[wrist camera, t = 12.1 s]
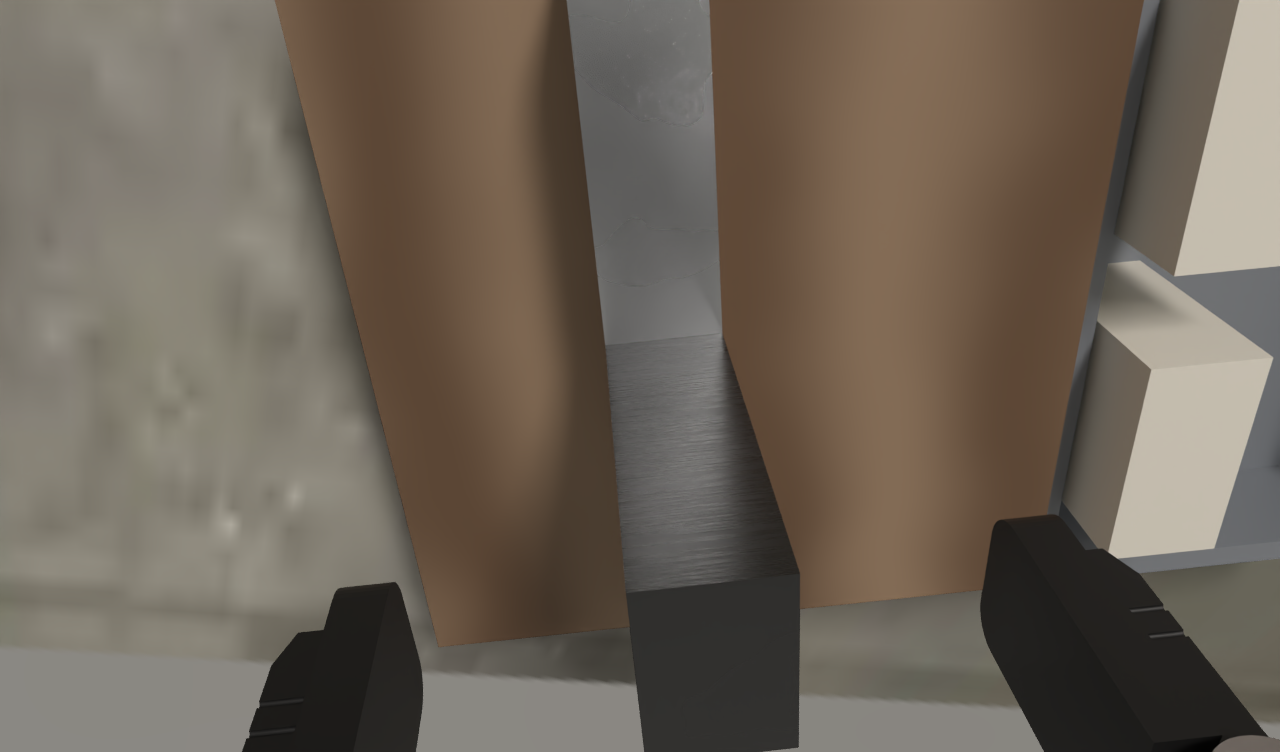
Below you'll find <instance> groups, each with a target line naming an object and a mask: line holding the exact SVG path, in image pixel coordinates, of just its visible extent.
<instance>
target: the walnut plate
mask: <svg viewBox="0 0 1280 752" xmlns="http://www.w3.org/2000/svg"><path fill="white" fill-rule="evenodd" d="M275 2H276V6H277V10H278V14H279V18H280V22H281V26H282V30H283V34H284V38H285V42H286V46H287V50H288V54H289V58H290V62H291V66H292V70H293V74H294V78H295V82H296V85H297V89H298V93H299V97H300V101H301V105H302V109H303V113H304V117H305V121H306V125H307V129H308V133H309V137H310V141H311V145H312V149H313V153H314V157H315V161H316V165H317V168H318V172H319V176H320V180H321V184H322V188H323V192H324V196H325V200H326V204H327V208H328V212H329V216H330V220H331V224H332V228H333V232H334V236H335V240H336V244H337V248H338V251H339V255H340V259H341V263H342V267H343V271H344V275H345V279H346V283H347V287H348V291H349V295H350V299H351V303H352V307H353V311H354V315H355V319H356V323H357V327H358V331H359V334H360V338H361V342H362V346H363V350H364V354H365V358H366V362H367V366H368V370H369V374H370V378H371V382H372V386H373V390H374V394H375V398H376V402H377V406H378V410H379V413H380V417H381V421H382V425H383V429H384V433H385V437H386V441H387V445H388V449H389V453H390V457H391V461H392V465H393V469H394V473H395V477H396V481H397V485H398V489H399V493H400V496H401V500H402V504H403V508H404V512H405V516H406V520H407V524H408V528H409V532H410V536H411V540H412V544H413V548H414V552H415V556H416V560H417V564H418V568H419V572H420V576H421V579H422V583H423V587H424V591H425V595H426V599H427V603H428V607H429V611H430V615H431V619H432V623H433V627H434V631H435V635H436V639H437V643H438V647H444V646H454V645H463V644H473V643H482V642H492V641H501V640H511V639H520V638H530V637H539V636H549V635H558V634H568V633H577V632H587V631H596V630H606V629H615V628H625V627H630V625H629V616H628V608H627V599H626V590H625V577H624V565H623V553H622V541H621V529H620V517H619V505H618V493H617V481H616V469H615V457H614V445H613V433H612V421H611V409H610V396H609V384H608V372H607V360H606V348H605V339H604V330H603V321H602V312H601V303H600V294H599V285H598V276H597V267H596V258H595V249H594V240H593V231H592V222H591V213H590V205H589V196H588V187H587V178H586V169H585V160H584V151H583V142H582V133H581V124H580V115H579V106H578V97H577V88H576V80H575V71H574V62H573V53H572V44H571V35H570V26H569V17H568V8H567V0H275ZM1143 3H1144V0H709V7H710V33H711V58H712V83H713V109H714V134H715V160H716V185H717V210H718V236H719V261H720V286H721V312H722V334H723V337H724V340H725V343H726V346H727V349H728V352H729V355H730V358H731V361H732V364H733V368H734V371H735V374H736V377H737V380H738V383H739V386H740V389H741V392H742V395H743V398H744V402H745V405H746V408H747V411H748V414H749V417H750V420H751V423H752V426H753V429H754V432H755V436H756V439H757V442H758V445H759V448H760V451H761V454H762V457H763V460H764V463H765V466H766V470H767V473H768V476H769V479H770V482H771V485H772V488H773V491H774V494H775V497H776V500H777V504H778V507H779V510H780V513H781V516H782V519H783V522H784V525H785V528H786V531H787V534H788V538H789V541H790V544H791V547H792V550H793V553H794V556H795V559H796V562H797V565H798V568H799V572H800V609H805V608H814V607H824V606H833V605H843V604H852V603H862V602H871V601H881V600H890V599H900V598H909V597H919V596H928V595H938V594H947V593H957V592H966V591H976V590H983V584H984V578H985V572H986V566H987V559H988V553H989V547H990V541H991V534H992V530H993V527H994V524H995V523H996V522H997V521H998V520H1002V519H1011V518H1021V517H1030V516H1039V515H1047V511H1048V506H1049V500H1050V495H1051V490H1052V485H1053V479H1054V474H1055V469H1056V463H1057V458H1058V453H1059V447H1060V442H1061V437H1062V432H1063V426H1064V421H1065V416H1066V410H1067V405H1068V400H1069V395H1070V389H1071V384H1072V379H1073V373H1074V368H1075V363H1076V357H1077V352H1078V347H1079V342H1080V336H1081V331H1082V326H1083V320H1084V315H1085V310H1086V305H1087V299H1088V294H1089V289H1090V283H1091V278H1092V273H1093V267H1094V262H1095V257H1096V252H1097V246H1098V241H1099V236H1100V230H1101V225H1102V220H1103V214H1104V209H1105V204H1106V199H1107V193H1108V188H1109V183H1110V177H1111V172H1112V167H1113V162H1114V156H1115V151H1116V146H1117V140H1118V135H1119V130H1120V124H1121V119H1122V114H1123V109H1124V103H1125V98H1126V93H1127V87H1128V82H1129V77H1130V72H1131V66H1132V61H1133V56H1134V50H1135V45H1136V40H1137V34H1138V29H1139V24H1140V19H1141V13H1142V8H1143Z"/></svg>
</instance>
